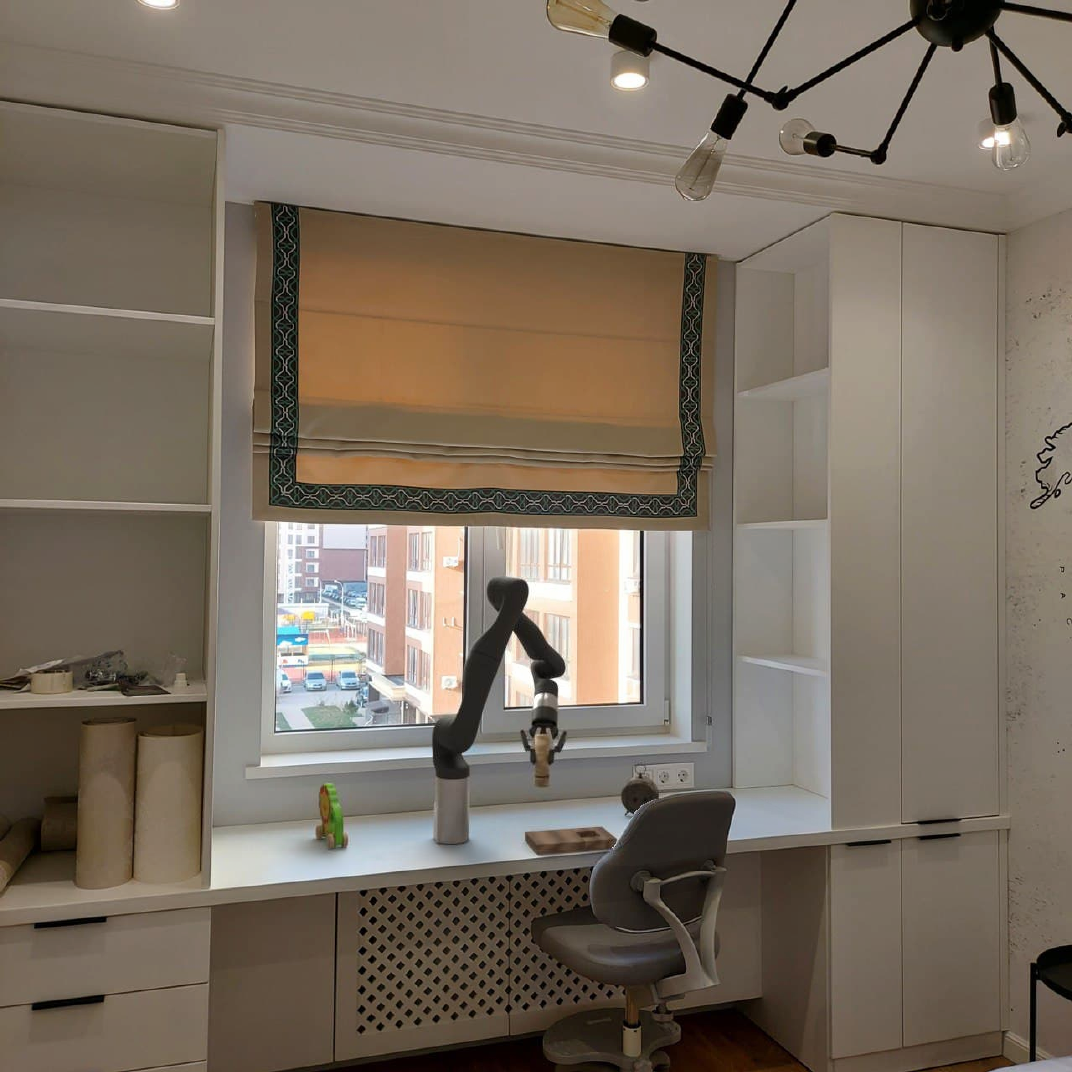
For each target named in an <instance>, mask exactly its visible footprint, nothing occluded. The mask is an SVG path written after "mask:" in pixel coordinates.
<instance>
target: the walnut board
mask: <svg viewBox="0 0 1072 1072" xmlns="http://www.w3.org/2000/svg"><path fill="white" fill-rule="evenodd" d="M525 841H526V842H527V843H526V842H525ZM524 842H525V843H526V844H527V845H528V846H529V848H530V849H531V850H532V851H533V852H534V853H535V854H536V855H538V856H539V855H548V854H549V855H550V854H561V853H572V852H573V853H575V852H587V851H601V850H612V849H611V848H612V847H614V845H615V844H616V842H617V843H618V839H617V837H616V836H614V835H613V834H611V832H609V831H608V830H607V829H605V828H604V827H603V826H588V827H576V828H561V829H559V828H558V829H548V830H547V829H545V830H533V831H532V830H531V831H525V832H524Z"/></svg>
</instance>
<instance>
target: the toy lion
mask: <svg viewBox="0 0 1072 1072" xmlns="http://www.w3.org/2000/svg"><path fill="white" fill-rule="evenodd" d="M338 797H339V796H338V794H337V790H336V788H335V785H334V783H331V782H329V783H323V784H322V785H321V786H320V788H319V791H318V809H319V814H320V817H321V818H320V819H321V824H318V825H316V827H315V838H316V839H317V840H318V839H319V840H323V839H324V838H325V840H326V847H327V849H328V850H333V849H334V848H335V847H339V846H340V847H342V848H347V846H348V844H349V837H348V833H347V832H344V817H343V816H344V815H343V810H342V807H341V805H340V803H339V798H338Z"/></svg>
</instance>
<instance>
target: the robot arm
mask: <svg viewBox="0 0 1072 1072" xmlns="http://www.w3.org/2000/svg"><path fill="white" fill-rule="evenodd" d="M529 589H530V588H529V584H528V581H526V579H523V578H518V577H512V576H507V575H506V576H505V575H496V576H494V577H492V578H490V580H489V581H488V582H487V585H486V589H485V591H486V597H487V598H486V599H487V600H488V602H489V603H490V605H491V606H492V607H493V608H494V610H496V612H497V613H498V614H497V616H496V617H495V620H494V621H493V623H492V624H491V625H490V626H489V627H488V628H487V629H486V630H485V631H483V633H482V634H481V635H480V636H479V637H478V638H477V639H476V640H474V642H473V644H472V645H471V647H470V650H469V652H468V654H467V657H466V660H465V662H464V666H463V670H462V671H463V672H462V673H463V674H462V682H463V683H462V684H463V685H462V687H463V692H462V700H461V703H460V705H459V708H458V710H457V712H456V715H443V716H441V717H439V718H438V719H437V721H436V722H435V724H434V726H433V729H432V736H431V737H432V738H431V739H432V740H431V741H432V742H431V745H432V746H431V747H432V763H433V767H434V770H435V795H434V796H435V801H434V802H433V832H432V833H433V839H434V840H435V842H436V844H444V845H457V844H458V845H459V844H464V843H466V842H468V841H469V840H470V777H471V776H470V765H469V764H468V762H467V761H466V760H465V759H464V756H463V753H466V752H467V751H469V750H470V749H471V747H472V746H473V745H474V743H475V741H476V737H477V735H478V732H479V731H478V730H479V726H480V723H481V719H482V716H483V713H484V709H485V705H486V702H487V700H488V697H489V695H490V691H491V688H492V687H493V686H492V685H493V684H494V680H495V678H496V676H497V674H498V672H499V668H500V665H501V662H502V660H503V657H504V654H505V651H506V648H507V646H508V643H509V642H510V638H511V637H512V634H513V633H514V634H515V636H516V638H517V639H518V640H519V642H520V644H521V647H522V648H523V650H524V651H525V653H526V655H527V656H528V658H529V659H531V660H533V661H532V662H531V664H530V667H529V669H530V672H531V676H532V681H533V685H534V692H533V693H534V695H533V701H532V702H533V703H532V709H531V710H532V711H531V722H530V727H529V729H526V730H524V729H520V739H521V742H522V745H523V748H524V751H525V752H526V753H527V752H529V754H530V755H529V761H530V763H531V764H532V765H534V766H535V735H537V734H548V735H550V750H549V766H552V764H554V762H555V754H556V753H558V754H559V753H561V752H562V750H563V748H564V747H565V743H566V742H567V739H568V732H567V730H563V731H561V730H559V728H558V719H559V717H558V716H559V685H558V683H557V682H556V681H555V680H553V679H557V678H560V677H562V676H563V675H564V674H565V672H566V671H567V670H566V668H567V666H566V662H565V660H564V658H563V656H562V655H561V654H560V653H559V652H558V651H557V650H556V649H554V647H552V646H551V644H549V643H548V641H547V639H546V637H545V635H544V634H543V632H542V630H541V629H540V627H539V626H538V625H537V624H536V623H535V622H534V621H533V620H532V619H531V618H530V617H529V616H528V615H526V614H525V613H524V609H525V607H526V605H527V602H528V600H529V595H530V590H529ZM529 736H530V737H531V738H532V742H531V745H530V744H529V741H528V739H529ZM557 736H558V742H557V744H556V745H555V744H554V740H555V739H556V738H557ZM463 842H464V843H463Z"/></svg>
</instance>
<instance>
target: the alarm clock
mask: <svg viewBox="0 0 1072 1072" xmlns="http://www.w3.org/2000/svg"><path fill="white" fill-rule="evenodd" d="M639 765H642V766H643V767H644V772H638V771H637V770H636V769H637V767H638V766H639ZM634 771H635V773H636V774H637V775H636V776H633V777H630V778H629V779H628V780H627V781H626V782H625V784H624V785H623V787H622V788H621V789H622V790H621V794H620V800H621V803H622V805H623V807H624V808H625V810H626V812H625V813H624V816H625V817H626V816H627V815H628V814H629V813H630V814H632V815H634V812H635V811H636V810H638V809H639V808H640V806H641V805H643V804H645V803H647V802H649V801H651V800H654V799H660V793H659V788H658V786H657V785H656V783H655V782H654V781H653V780H652V779H651V778H649V777H647V776H643V775H644V774H645V772H646V771H647V767H646V765H645V764H643V763H640V762H639V763H637V764H635V766H634Z"/></svg>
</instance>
